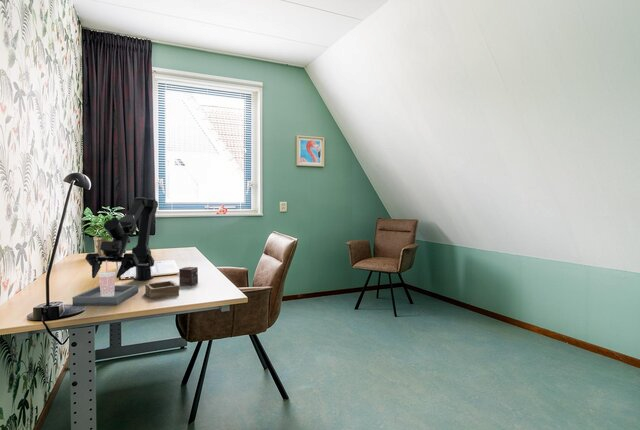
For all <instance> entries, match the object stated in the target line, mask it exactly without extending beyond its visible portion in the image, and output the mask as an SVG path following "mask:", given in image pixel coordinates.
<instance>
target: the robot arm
mask: <svg viewBox="0 0 640 430" xmlns="http://www.w3.org/2000/svg"><path fill="white" fill-rule="evenodd" d="M158 206H159V203H158V200H156V198H147V197H135V198H133V203H132V204H131V205H130V208H129V210H128V211H127V212H126V214H125V215H124V216H122V217H120V218H119V217H112V218H111V219H108V220H107V221H106V222H104V224H103V228H104V230H105V232H106V233H107V235H108V237H110V238H111V239H112V240H111V241H107V240H105V241H103V240H102V241H101V242H100V246H99V247H100V248H99V250H100V251H103V252H102V254H103V255H105V256H101V255H100V254H99V253H98V252H88V253H87V254H86V255H85V257H84V258H85V259H84V260H86V262H87V263H88V264H89V265H90V267H91V277H92V279H95V278H96V276H98V274H99V271H100V270H101V268H102V264H103V262H104V263H106V260H107V263H108V262H109V263H110V262H111V263H121V264H120V266H119V268H118V271H117V272H116V275H115V279H119V278H121V277H122V276H123V275H124V274H125V273H127V272H128V271H129V270H130V269H134V268H135V277H133V280H136V281H141V282H143V281H146V280H151V279H154V276H152V269H151V267H154V266H155V259H154V257H153V255H152V250H151V248H150V246H149V243H150V235H151V228H152V227H151V226H152V219H153V217H154V215H155V214H156V213H157V209H158ZM139 217H140V222H139V229H138V237H137V243H136V246H134V247H132V248H131V252H130V253H129V252H127V251H126V247H127V245H128V244H130V243H131V240H130V236H129V235H133V234H134V233H135V232H136V231H137V227H138V225H137V220H138V219H139Z"/></svg>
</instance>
